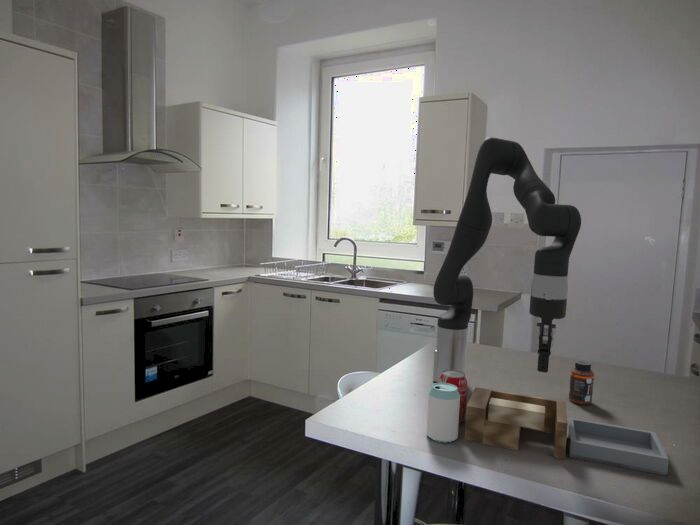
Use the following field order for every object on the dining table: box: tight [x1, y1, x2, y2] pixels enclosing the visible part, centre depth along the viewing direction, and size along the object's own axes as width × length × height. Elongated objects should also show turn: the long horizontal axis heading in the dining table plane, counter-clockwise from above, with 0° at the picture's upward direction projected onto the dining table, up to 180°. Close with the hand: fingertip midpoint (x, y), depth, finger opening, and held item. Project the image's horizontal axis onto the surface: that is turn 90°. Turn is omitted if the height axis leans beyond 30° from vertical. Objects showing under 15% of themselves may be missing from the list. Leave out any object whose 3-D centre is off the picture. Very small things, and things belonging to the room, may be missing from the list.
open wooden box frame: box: [464, 386, 568, 460], centre depth 114 cm, size 21×14×8 cm, turn 68°
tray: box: [567, 417, 670, 477], centre depth 109 cm, size 18×14×4 cm
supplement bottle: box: [568, 360, 595, 406], centre depth 139 cm, size 6×6×11 cm
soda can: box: [439, 370, 468, 424], centre depth 123 cm, size 7×7×12 cm
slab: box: [488, 398, 545, 431], centre depth 113 cm, size 12×4×4 cm, turn 68°
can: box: [426, 382, 460, 443], centre depth 112 cm, size 7×7×12 cm
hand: (542, 371), depth 110 cm, fingers closed
